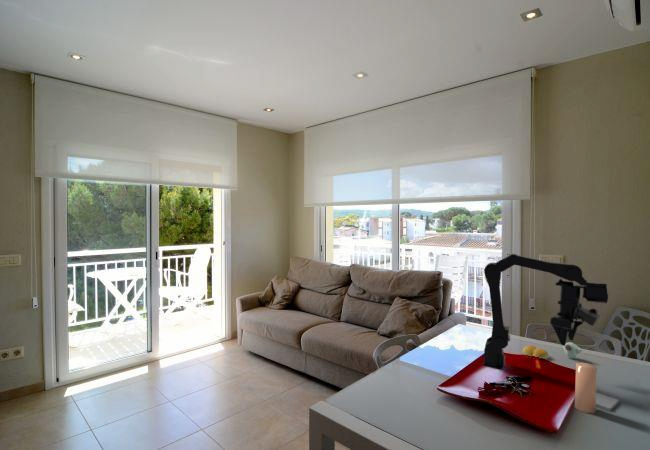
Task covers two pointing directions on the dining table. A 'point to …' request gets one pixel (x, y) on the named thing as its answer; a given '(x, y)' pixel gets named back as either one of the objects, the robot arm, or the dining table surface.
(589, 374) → the peach pillar candle
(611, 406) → the slate coaster
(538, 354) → the bread roll
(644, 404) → the dining table surface
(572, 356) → the pale green rounded piece
